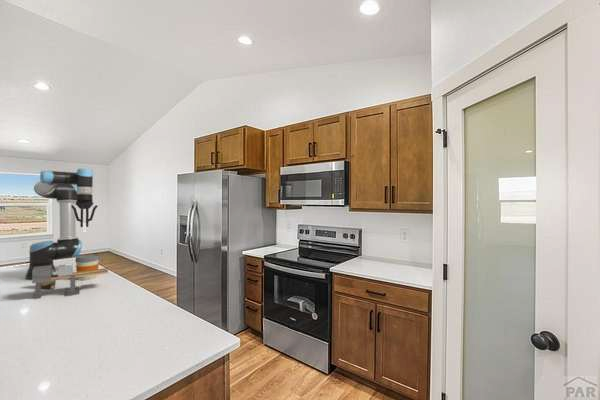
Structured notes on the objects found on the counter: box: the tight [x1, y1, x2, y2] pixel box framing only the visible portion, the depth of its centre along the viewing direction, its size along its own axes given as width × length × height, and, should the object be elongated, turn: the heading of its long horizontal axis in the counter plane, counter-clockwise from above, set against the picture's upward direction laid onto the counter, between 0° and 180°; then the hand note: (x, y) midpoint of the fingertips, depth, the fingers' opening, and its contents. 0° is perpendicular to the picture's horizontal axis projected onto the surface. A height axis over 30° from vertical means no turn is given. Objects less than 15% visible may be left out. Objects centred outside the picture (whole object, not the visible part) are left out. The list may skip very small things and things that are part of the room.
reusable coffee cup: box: [75, 253, 100, 281], centre depth 178 cm, size 12×12×15 cm
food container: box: [41, 269, 58, 291], centre depth 159 cm, size 12×6×10 cm, turn 84°
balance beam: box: [31, 265, 109, 285], centre depth 152 cm, size 9×32×8 cm, turn 129°
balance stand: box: [34, 276, 81, 300], centre depth 148 cm, size 12×18×10 cm, turn 129°
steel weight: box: [57, 263, 74, 277], centre depth 150 cm, size 5×6×6 cm
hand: (84, 232), depth 164 cm, fingers closed
